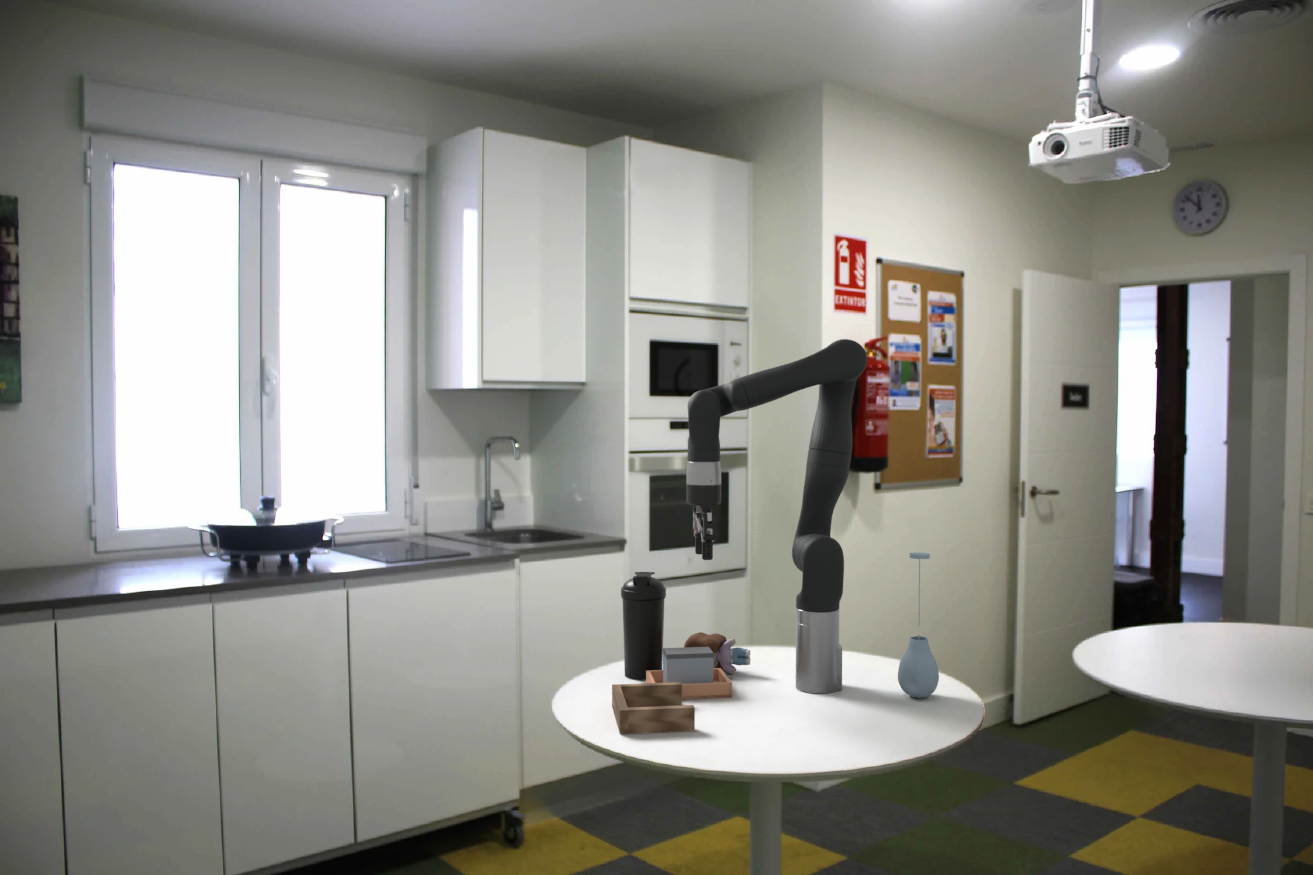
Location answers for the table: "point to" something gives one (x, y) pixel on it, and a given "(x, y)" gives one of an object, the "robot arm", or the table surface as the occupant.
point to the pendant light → (918, 660)
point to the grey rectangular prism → (688, 665)
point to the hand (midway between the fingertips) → (703, 556)
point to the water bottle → (643, 624)
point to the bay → (651, 708)
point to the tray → (699, 685)
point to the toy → (720, 650)
